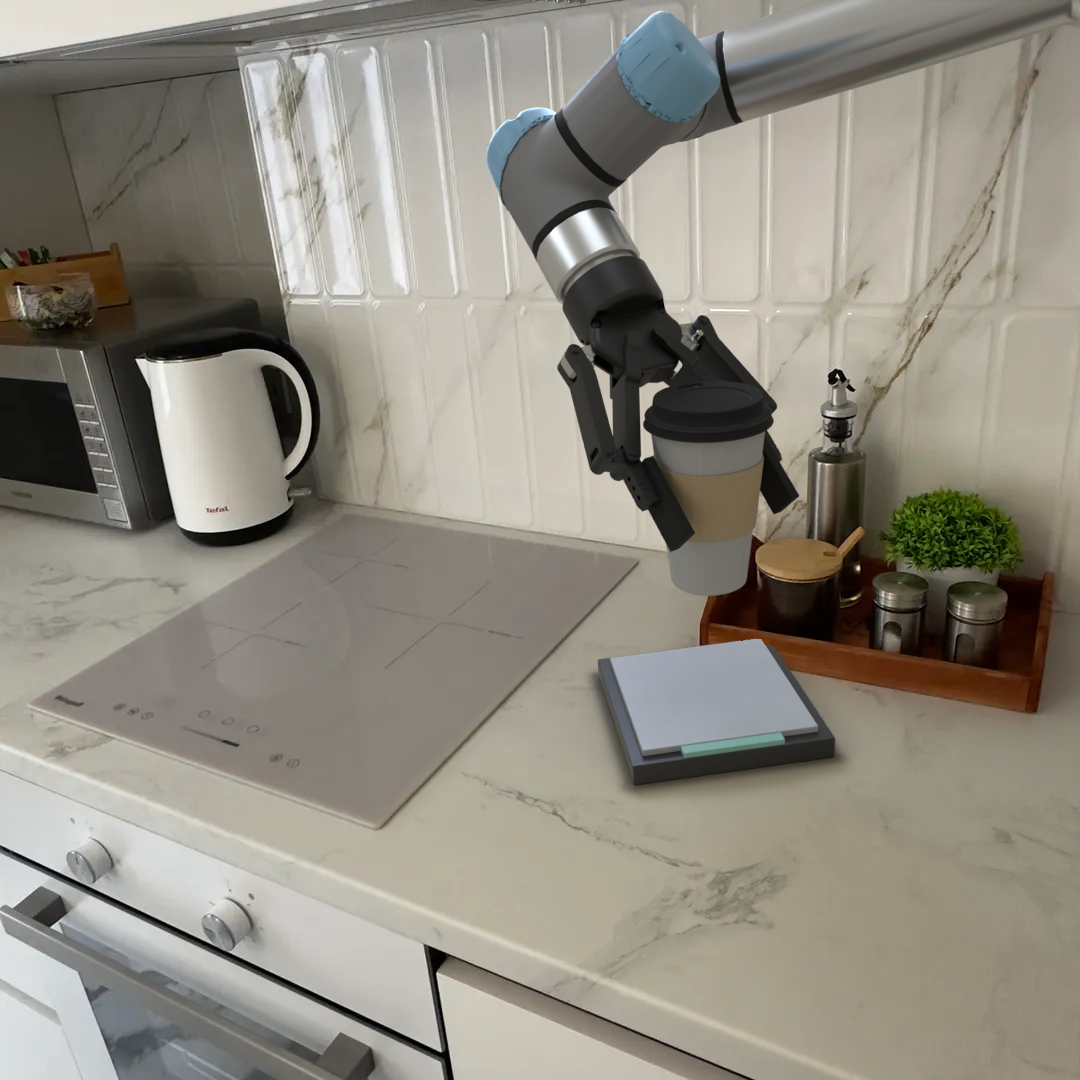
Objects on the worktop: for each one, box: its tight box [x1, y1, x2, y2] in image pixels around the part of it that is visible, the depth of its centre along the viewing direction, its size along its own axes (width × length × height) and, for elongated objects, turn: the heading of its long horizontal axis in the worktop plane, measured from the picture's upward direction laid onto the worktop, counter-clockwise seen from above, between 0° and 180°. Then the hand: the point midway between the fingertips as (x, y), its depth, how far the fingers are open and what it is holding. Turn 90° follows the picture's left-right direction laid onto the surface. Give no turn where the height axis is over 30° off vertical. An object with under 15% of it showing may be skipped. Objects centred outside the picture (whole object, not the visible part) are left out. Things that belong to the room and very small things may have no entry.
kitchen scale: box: [597, 638, 836, 786], centre depth 83 cm, size 16×16×2 cm
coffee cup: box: [642, 381, 775, 597], centre depth 74 cm, size 9×9×15 cm
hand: (736, 523), depth 72 cm, fingers closed on coffee cup, 9 cm apart
